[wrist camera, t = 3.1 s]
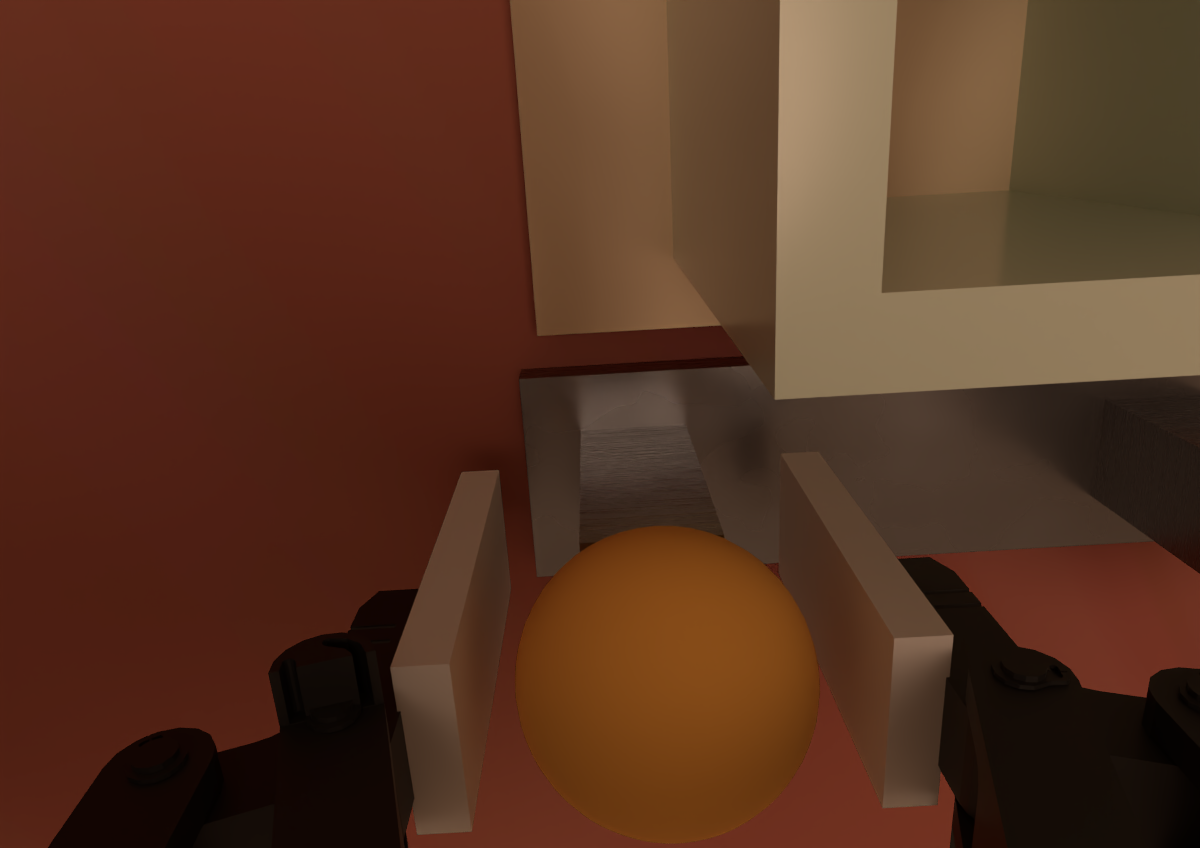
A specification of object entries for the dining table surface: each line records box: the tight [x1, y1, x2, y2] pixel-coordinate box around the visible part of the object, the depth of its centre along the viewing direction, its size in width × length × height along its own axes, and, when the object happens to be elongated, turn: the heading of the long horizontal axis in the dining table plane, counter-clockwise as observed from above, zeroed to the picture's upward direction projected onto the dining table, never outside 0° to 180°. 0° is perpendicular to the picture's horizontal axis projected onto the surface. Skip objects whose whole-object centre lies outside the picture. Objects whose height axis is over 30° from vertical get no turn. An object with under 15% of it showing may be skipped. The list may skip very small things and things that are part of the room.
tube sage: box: [666, 0, 1200, 400], centre depth 12 cm, size 8×8×10 cm
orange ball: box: [515, 526, 820, 843], centre depth 12 cm, size 4×4×4 cm
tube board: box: [510, 0, 1028, 336], centre depth 17 cm, size 26×11×1 cm, turn 93°
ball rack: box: [519, 357, 1200, 577], centre depth 17 cm, size 17×5×6 cm, turn 93°
